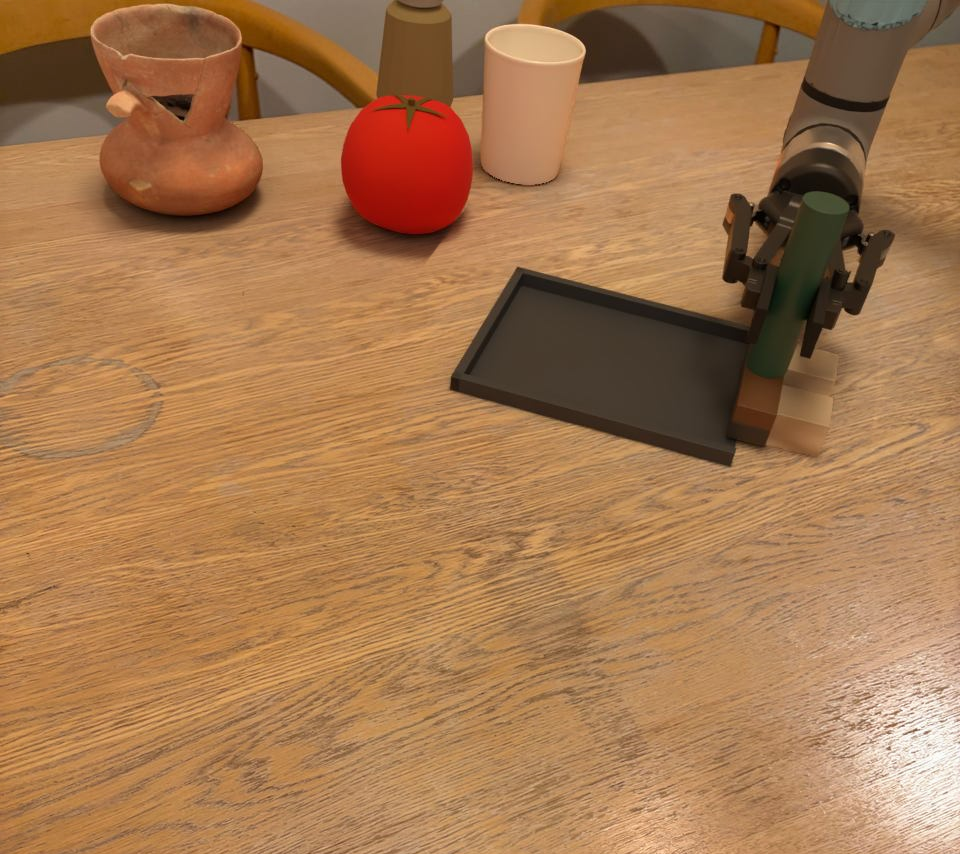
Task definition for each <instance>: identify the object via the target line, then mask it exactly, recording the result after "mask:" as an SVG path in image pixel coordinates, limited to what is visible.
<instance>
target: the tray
mask: <svg viewBox="0 0 960 854" xmlns="http://www.w3.org/2000/svg"><path fill="white" fill-rule="evenodd" d="M749 327H750V325H747V324H745V323H744V324H743V323H739V322H737V321H736V322H735V321H732V320H728V319H724V318H719V317H715V316H712V315H709V314H704V313H702V312H701V313H700V312H696V311H693V310H689V309H684V308H681V307H678V306H673V305H669V304H665V303H662V302H657V301H653V300H650V299H645V298H641V297H638V296H633V295H631V294H627V293H622V292H618V291H615V290H611V289H608V288H607V289H606V288H603V287H599V286H595V285H590V284H588V283H583V282H579V281H576V280H572V279H568V278H565V277H564V278H563V277H560V276H556V275H551V274H549V273H543V272H540V271H537V270H532V269H528V268H525V267H521V266H516V267H515V270H514V272H513V273H512V274H511V276H510V278H509V280H507V283H506V284H505V286H504V288H503V289H502V291H501V292H500V294H499V296H498V298H497V299H496V301H495V303H494V304H493V306H492V308H491V310H490V311H489V313H488V314H487V316H486V318H485V319H484V320H483V323H482V324H481V326H480V328H479V329H478V331H477V333H476V334H475V336H474V338H473V339H472V341H471V342H470V343H469V346H468V347H467V349H466V351H465V352H464V354H463V356H462V358H460V361H459V362H458V364H457V365H456V367H455V369H454V370H453V372H452V373H451V375H450V383H449V391H452V392H457V393H460V394H463V395H466V396H467V395H468V396H471V397H473V398H478V399H481V400H486V401H489V402H492V403H497V404H500V405H503V406H507V407H511V408H513V409H514V408H515V409H518V410H522V411H526V412H529V413H533V414H536V415H539V416H542V417H548V418H550V419H554V420H557V421H561V422H564V423H569V424H572V425H577V426H580V427H584V428H588V429H591V430H595V431H598V432H600V433H601V432H602V433H605V434H609V435H613V436H617V437H620V438H624V439H628V440H631V441H635V442H638V443H641V444H646V445H649V446H653V447H656V448H660V449H663V450H666V451H670V452H674V453H679V454H682V455H685V456H689V457H693V458H697V459H699V460H700V459H701V460H703V461H706V462H707V461H708V462H711V463H715V464H718V465H723V466H726V467H728V468H729V467H731V466H732V464H733V460H734V457H735V456H736V452H737V447H736V445H737V441H738V440H737V439H733V438H729V437H726V433H727V429H728V425H729V421H730V417H731V413H732V408H733V404H734V400H735V396H736V392H737V388H738V384H739V380H740V375H741V371H742V367H743V363H744V359H745V355H746V352H747V349H748V346H749V343H747V342H746V338H747V335H748V331H749Z"/></svg>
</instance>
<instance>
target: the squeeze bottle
mask: <svg viewBox="0 0 960 854" xmlns="http://www.w3.org/2000/svg"><path fill="white" fill-rule="evenodd" d="M443 1H444V0H392V1H391V2H390V3H389V4H387V7H386V8H385V16H384V23H383V24H384V25H383V33H382V42H381V48H380V49H381V51H380V59H379V67H378V75H377V83H376V99H377V98H380V97H383V96H390V95H394V94H392V93H391V92H393V93H396V94H398V95H410V96H418V97H424V98H428V97H433V96H437V97H435V98H432V100H435V101H438V102H441V103H444V104H446V105H448V106H449V107H450V108H452V105H453V102H454V72H453V71H454V70H453V69H454V68H453V23H452V22H453V21H452V18H453V17H452V13H451V12H450V10H449V9H448V7H446V5H445V4H443ZM389 91H391V92H389Z"/></svg>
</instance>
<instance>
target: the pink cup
mask: <svg viewBox="0 0 960 854" xmlns="http://www.w3.org/2000/svg"><path fill="white" fill-rule="evenodd" d="M483 43H484V57H483V58H484V60H483V83H482V84H483V85H482V87H483V88H482V106H481V107H482V108H481V129H480V130H481V132H480V165H481V168H482V167H483V168H482V169H483V171H484V172H485V173H487V172H488V173H489V174H490V175H492V176H493V177H492V176H491V177H492V178H494V177H495V178H494V179H496V178H497V179H496V180H498V179H500V180H499V181H501V180H502V181H501V182H504V181H507V182H510V183H509V184H511V183H515V184H514V185H516V184H523V185H522V186H539V185H538V184H540V185H543V184H542V183H544V184H547V183H550V182H552V181H553V180H555V178H557V176H558V174H559V172H560V169H561V165H562V161H563V156H564V152H565V148H566V144H567V143H566V142H567V138H568V133H569V129H570V124H571V119H572V115H573V111H574V106H575V100H576V96H577V92H578V87H579V83H580V82H579V81H580V78H581V73H582V69H583V64H584V60H585V57H586V53H587V50H586V46H585V45H584V43H583V42H582V41H581V40H580V39H578V38H577V37H576V36H575V35H572V34H570V33H568V32H566V31H562V30H560V29H557V28H553V27H549V26H545V25H539V24H529V23H510V24H504V25H499V26H495V27H493V28H491V29H489V30H488V31H487V32H486V33H485V36H484V42H483ZM488 173H487V174H488ZM489 174H488V175H489ZM490 175H489V176H490ZM551 180H552V181H551ZM549 181H550V182H549ZM507 182H506V183H507ZM546 182H547V183H546ZM535 184H537V185H535Z"/></svg>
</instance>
